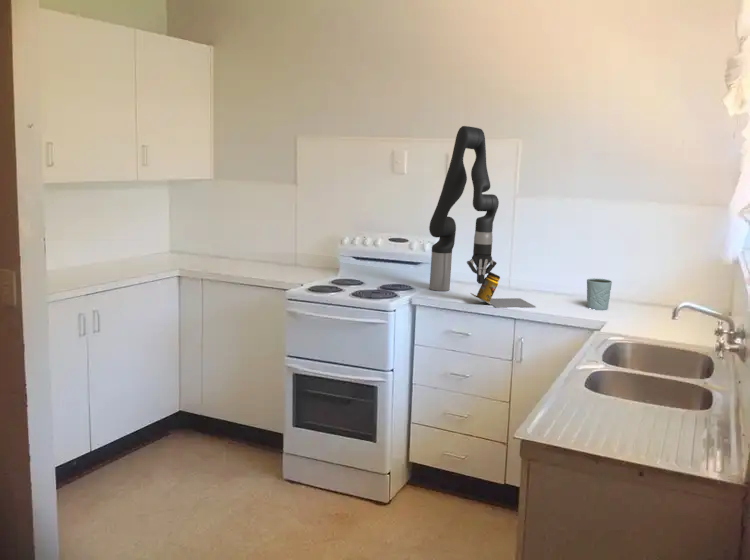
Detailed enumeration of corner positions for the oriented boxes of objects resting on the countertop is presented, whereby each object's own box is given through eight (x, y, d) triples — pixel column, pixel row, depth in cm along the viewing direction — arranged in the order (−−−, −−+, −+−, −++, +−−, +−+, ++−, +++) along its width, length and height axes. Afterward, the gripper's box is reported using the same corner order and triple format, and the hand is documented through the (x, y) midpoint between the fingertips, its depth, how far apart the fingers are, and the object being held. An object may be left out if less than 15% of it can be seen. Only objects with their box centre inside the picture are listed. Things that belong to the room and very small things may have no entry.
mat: (481, 299, 328) (481, 298, 328) (520, 299, 332) (520, 298, 332) (495, 307, 313) (495, 306, 313) (535, 307, 317) (535, 306, 317)
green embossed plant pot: (610, 311, 316) (613, 283, 313) (585, 309, 318) (587, 281, 315) (607, 306, 325) (610, 279, 323) (583, 304, 327) (586, 277, 325)
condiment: (491, 304, 317) (504, 278, 315) (473, 296, 315) (486, 270, 314) (486, 300, 324) (499, 275, 322) (469, 293, 322) (481, 267, 321)
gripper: (494, 241, 320) (491, 281, 323) (464, 241, 317) (462, 281, 320) (501, 243, 313) (498, 285, 316) (470, 243, 310) (468, 285, 313)
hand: (480, 283), depth 318 cm, fingers closed
